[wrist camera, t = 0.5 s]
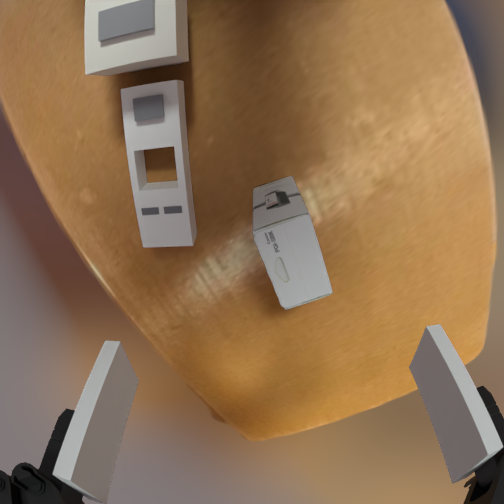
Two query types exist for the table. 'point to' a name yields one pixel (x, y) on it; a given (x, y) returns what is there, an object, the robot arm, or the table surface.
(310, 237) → the ink box
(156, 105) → the socket
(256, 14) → the table surface
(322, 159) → the table surface
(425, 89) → the table surface
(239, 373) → the table surface
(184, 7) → the plug
